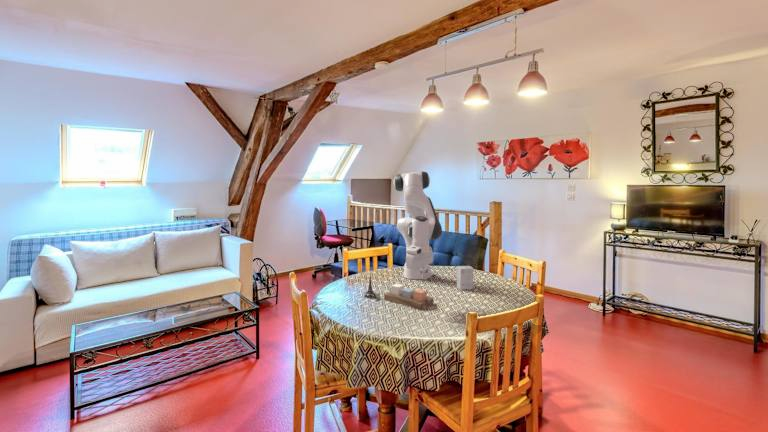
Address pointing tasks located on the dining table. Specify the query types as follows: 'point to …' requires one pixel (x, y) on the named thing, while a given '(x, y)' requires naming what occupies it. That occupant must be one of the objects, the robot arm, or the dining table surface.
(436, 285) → the dining table surface
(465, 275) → the small box
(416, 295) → the peach cube
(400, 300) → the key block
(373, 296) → the eiffel tower figurine
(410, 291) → the slate key
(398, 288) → the cream cube
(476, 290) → the dining table surface
